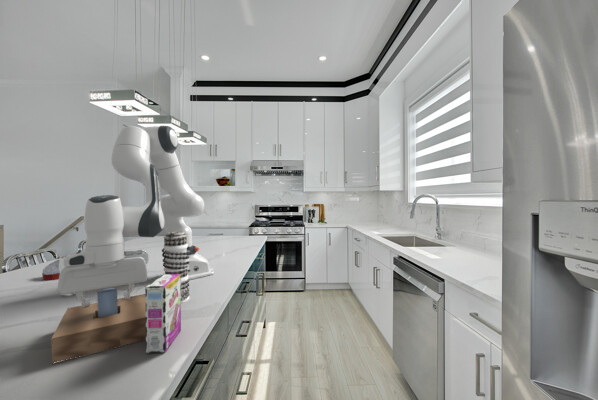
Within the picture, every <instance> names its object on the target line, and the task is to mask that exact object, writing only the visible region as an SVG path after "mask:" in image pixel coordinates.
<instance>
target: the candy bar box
mask: <svg viewBox="0 0 598 400" xmlns="http://www.w3.org/2000/svg"><path fill="white" fill-rule="evenodd" d="M144 289H145V290H144V291H145V293H144V294H145V295H146V296H145V298H146V299H145V300H146V301H145V302H146V340H145V353H146V354H158V353H159V354H161V353H162V354H163V353H166V352H167V351H168V350H169V348H170V346H171V345H172V343H174V341H175V339H176V338H177V336H178V335H179V334H180V333H181V331H182V313H181V311H182V310H181V309H182V305H181V304H182V303H181V274H166V275H165V274H163V275H161V276H160V277H159V278H157V279H155V280H154V281H152V282H150V284H148V285H147V286H145V287H144Z"/></svg>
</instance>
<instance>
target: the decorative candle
mask: <svg viewBox="0 0 598 400" xmlns="http://www.w3.org/2000/svg"><path fill="white" fill-rule="evenodd" d="M187 236H188V235H186V234H185V233H184V232H182V231H176V232H169V233H167V234H166V233H165V236H163V241H164V242H163V243H164V245H163V248H162V249H161V252H162V253H161V257H163V258H162V267H163V271H164V275H166V274H181V304H183V303H186V302H188V301H189V300H190V288H189V286H190V283H189V282H190V280H189V279H188V274H187V272H188V271H187V268H188V267H189V266H188V265H187V264H189V262H188V261H187V259H188V258H189V256H187V255H188V254H189V252H187V249H189V248H190V247H188V246H187Z"/></svg>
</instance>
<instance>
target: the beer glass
mask: <svg viewBox="0 0 598 400" xmlns="http://www.w3.org/2000/svg"><path fill="white" fill-rule="evenodd" d="M68 255H69V254H68ZM68 255H63V256H60V257H58V258H59V259H58V260H59V273H61V271H62V270H63V268H64V267H65V266H64V259H65V258H66V257H67V256H68ZM72 296H73V297H74V296H76V293H71V294H65V295H62V294H61V297H63V298H66V297H72Z"/></svg>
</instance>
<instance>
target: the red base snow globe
mask: <svg viewBox="0 0 598 400" xmlns="http://www.w3.org/2000/svg"><path fill="white" fill-rule="evenodd" d="M41 275H42V278H41V279H42V281H47V282H48V281H57V280H58V281H59V276H60V273H59V259H57V260H54V261H52V262H50V263H49V264H48V265H46V266H44V268H43V269H42V273H41Z"/></svg>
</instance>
